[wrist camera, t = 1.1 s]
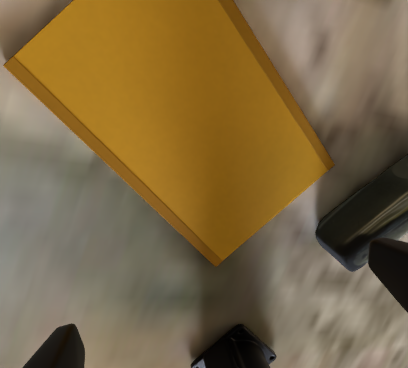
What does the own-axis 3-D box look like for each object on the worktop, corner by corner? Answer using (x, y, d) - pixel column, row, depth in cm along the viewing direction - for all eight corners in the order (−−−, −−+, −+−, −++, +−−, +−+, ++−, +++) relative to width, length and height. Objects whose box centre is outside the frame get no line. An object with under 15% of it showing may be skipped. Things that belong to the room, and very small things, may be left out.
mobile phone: (358, 281, 22) (519, 155, 21) (341, 259, 21) (511, 124, 20) (320, 247, 26) (451, 142, 25) (305, 227, 25) (441, 116, 24)
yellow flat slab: (331, 163, 24) (335, 164, 23) (214, 264, 24) (215, 267, 24) (173, -91, 16) (174, -95, 15) (5, 65, 16) (2, 65, 16)
